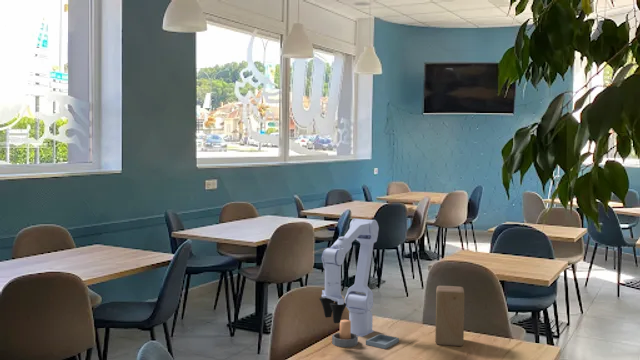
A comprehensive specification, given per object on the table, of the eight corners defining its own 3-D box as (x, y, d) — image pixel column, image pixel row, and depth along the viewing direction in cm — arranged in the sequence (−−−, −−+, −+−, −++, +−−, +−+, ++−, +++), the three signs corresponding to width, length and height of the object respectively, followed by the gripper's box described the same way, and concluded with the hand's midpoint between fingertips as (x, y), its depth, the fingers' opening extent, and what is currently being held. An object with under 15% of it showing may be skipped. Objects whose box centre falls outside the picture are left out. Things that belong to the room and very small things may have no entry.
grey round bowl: (341, 338, 229) (341, 330, 229) (362, 343, 223) (362, 335, 223) (327, 345, 221) (327, 336, 221) (348, 350, 216) (348, 341, 216)
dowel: (343, 340, 225) (343, 319, 225) (352, 342, 223) (352, 320, 222) (337, 343, 222) (337, 321, 221) (346, 345, 219) (346, 323, 219)
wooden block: (463, 347, 221) (464, 292, 220) (435, 345, 223) (436, 290, 222) (462, 338, 230) (463, 286, 229) (435, 336, 232) (436, 284, 231)
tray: (379, 339, 229) (379, 333, 229) (398, 343, 224) (398, 337, 224) (365, 345, 221) (365, 340, 221) (385, 350, 216) (385, 344, 216)
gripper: (314, 278, 222) (314, 315, 223) (330, 287, 209) (330, 326, 209) (332, 277, 225) (332, 313, 225) (349, 285, 211) (349, 324, 212)
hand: (332, 319), depth 218 cm, fingers open, 7 cm apart
